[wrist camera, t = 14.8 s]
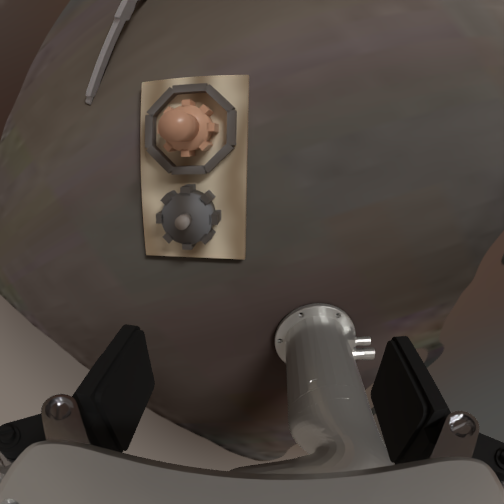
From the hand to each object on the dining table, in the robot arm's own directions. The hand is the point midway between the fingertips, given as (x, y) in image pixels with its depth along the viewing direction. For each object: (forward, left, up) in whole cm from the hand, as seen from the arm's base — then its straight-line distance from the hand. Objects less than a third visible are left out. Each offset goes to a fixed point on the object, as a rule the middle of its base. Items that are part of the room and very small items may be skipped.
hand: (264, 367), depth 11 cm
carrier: (+10, -5, -30) cm, 32 cm away
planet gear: (+10, -10, -29) cm, 32 cm away
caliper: (+22, -25, -31) cm, 45 cm away
